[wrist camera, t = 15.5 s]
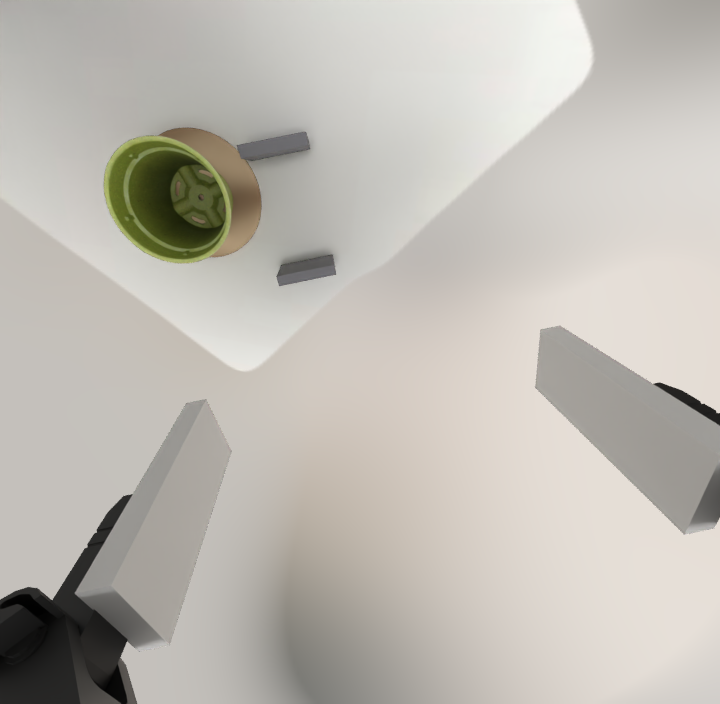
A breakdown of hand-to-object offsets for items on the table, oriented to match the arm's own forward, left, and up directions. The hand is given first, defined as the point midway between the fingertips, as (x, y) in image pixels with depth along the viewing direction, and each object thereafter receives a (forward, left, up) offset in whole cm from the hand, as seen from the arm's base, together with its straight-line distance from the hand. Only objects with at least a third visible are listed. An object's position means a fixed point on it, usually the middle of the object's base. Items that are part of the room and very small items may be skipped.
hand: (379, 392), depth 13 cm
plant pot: (-8, -13, -29) cm, 32 cm away
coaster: (-8, -13, -29) cm, 33 cm away
